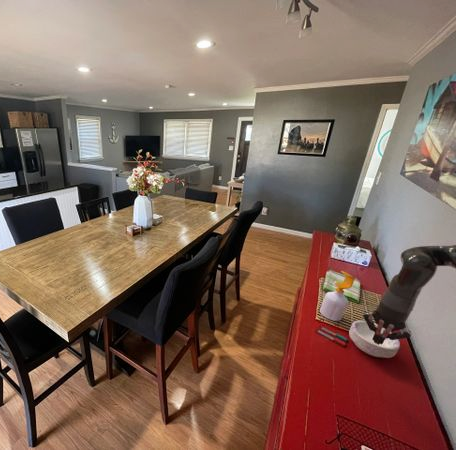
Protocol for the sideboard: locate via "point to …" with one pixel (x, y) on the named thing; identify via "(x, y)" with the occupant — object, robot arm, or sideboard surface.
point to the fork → (335, 334)
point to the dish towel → (336, 277)
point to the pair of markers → (332, 338)
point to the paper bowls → (366, 344)
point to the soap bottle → (336, 300)
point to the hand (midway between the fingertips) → (376, 342)
